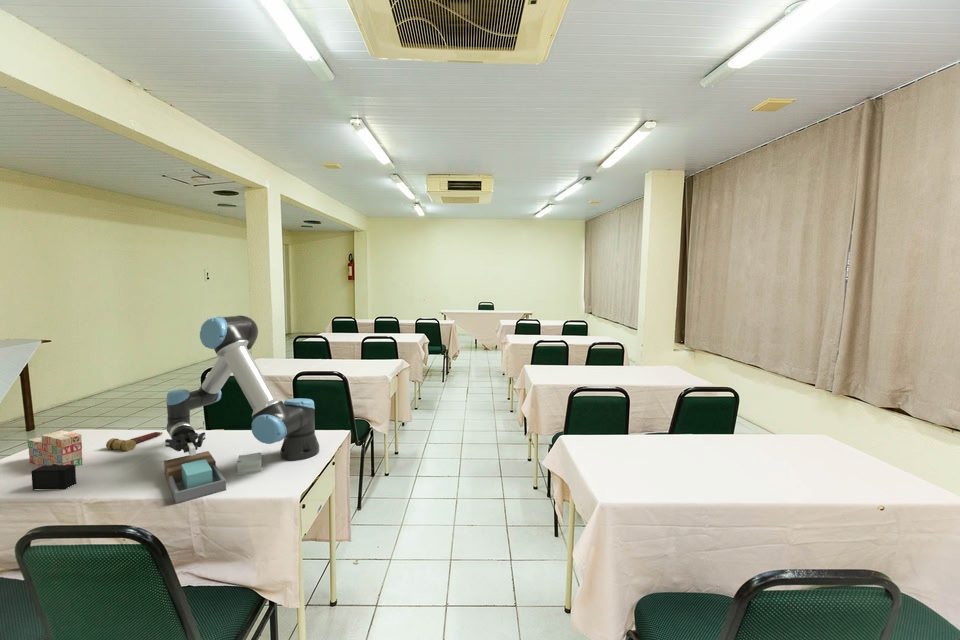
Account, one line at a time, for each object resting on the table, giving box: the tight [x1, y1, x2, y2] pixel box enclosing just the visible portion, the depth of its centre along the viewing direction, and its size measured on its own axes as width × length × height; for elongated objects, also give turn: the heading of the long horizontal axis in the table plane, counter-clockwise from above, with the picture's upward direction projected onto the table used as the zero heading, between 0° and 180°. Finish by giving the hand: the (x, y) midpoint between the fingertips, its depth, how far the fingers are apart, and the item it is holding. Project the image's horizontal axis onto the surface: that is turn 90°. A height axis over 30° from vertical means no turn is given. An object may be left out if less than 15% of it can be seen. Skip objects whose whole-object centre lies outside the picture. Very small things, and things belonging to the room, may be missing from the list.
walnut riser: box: [163, 450, 217, 486], centre depth 153 cm, size 13×14×5 cm
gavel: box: [105, 431, 163, 452], centre depth 183 cm, size 21×5×10 cm
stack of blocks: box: [27, 429, 83, 468], centre depth 160 cm, size 21×6×12 cm, turn 71°
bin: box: [168, 464, 227, 505], centre depth 142 cm, size 16×14×4 cm
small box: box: [236, 452, 263, 476], centre depth 157 cm, size 8×8×5 cm
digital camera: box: [30, 464, 77, 490], centre depth 142 cm, size 10×5×7 cm, turn 95°
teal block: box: [182, 459, 213, 490], centre depth 142 cm, size 7×7×12 cm
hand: (193, 451), depth 146 cm, fingers closed
